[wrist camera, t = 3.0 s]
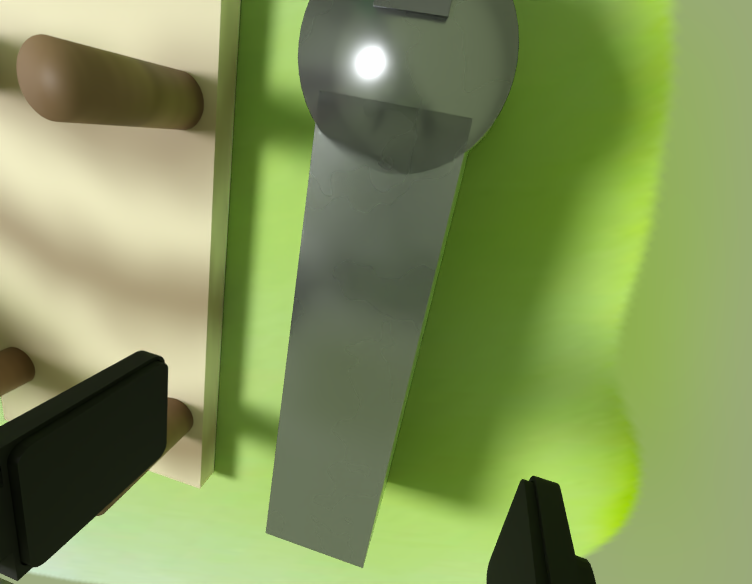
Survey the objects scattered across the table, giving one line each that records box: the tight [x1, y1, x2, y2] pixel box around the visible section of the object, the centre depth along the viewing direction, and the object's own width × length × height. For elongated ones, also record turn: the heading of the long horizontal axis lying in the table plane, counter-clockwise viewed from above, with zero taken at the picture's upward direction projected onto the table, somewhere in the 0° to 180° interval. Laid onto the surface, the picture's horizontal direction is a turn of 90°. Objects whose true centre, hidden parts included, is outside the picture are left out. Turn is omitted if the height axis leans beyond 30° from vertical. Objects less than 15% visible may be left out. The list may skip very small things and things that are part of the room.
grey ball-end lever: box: [266, 0, 519, 568], centre depth 15 cm, size 20×5×5 cm, turn 169°
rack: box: [0, 0, 241, 516], centre depth 17 cm, size 22×12×6 cm, turn 169°
